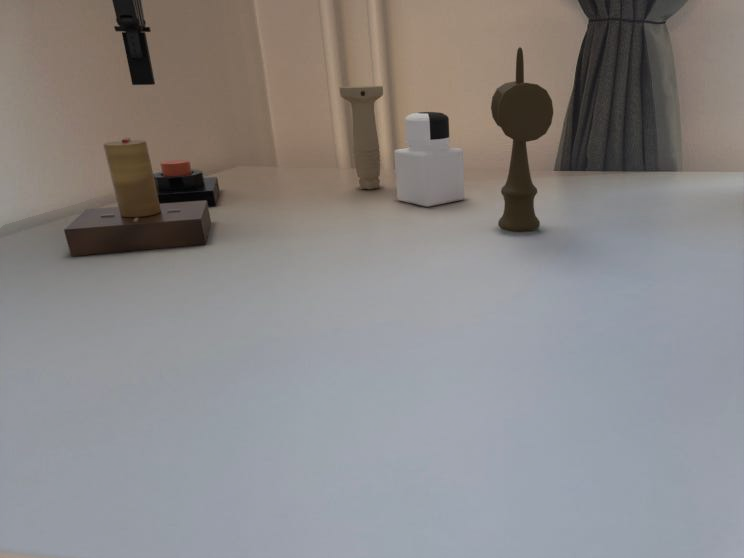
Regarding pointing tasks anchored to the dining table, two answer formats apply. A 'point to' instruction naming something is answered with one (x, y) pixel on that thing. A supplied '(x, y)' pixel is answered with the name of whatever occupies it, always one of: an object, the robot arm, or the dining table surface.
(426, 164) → the medicine bottle
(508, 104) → the kendama
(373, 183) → the handle
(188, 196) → the release housing
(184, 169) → the release button
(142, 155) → the yellow cylinder
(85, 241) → the plate
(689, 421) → the dining table surface
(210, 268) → the dining table surface
